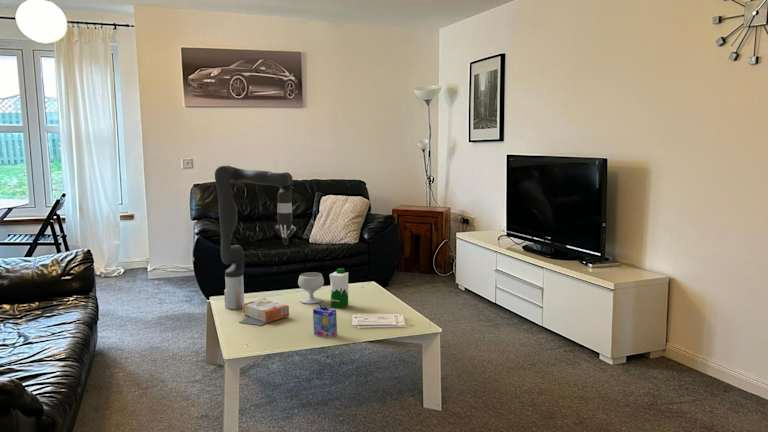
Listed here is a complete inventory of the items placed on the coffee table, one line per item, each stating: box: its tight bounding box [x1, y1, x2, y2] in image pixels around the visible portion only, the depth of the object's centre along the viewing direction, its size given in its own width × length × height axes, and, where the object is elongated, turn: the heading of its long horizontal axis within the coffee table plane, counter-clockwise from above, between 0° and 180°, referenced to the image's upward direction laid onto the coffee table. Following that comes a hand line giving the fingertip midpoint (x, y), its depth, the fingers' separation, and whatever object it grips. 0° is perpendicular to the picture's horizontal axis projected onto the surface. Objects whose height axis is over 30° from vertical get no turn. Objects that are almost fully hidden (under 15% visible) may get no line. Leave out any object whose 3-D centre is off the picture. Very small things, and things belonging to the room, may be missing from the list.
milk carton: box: [328, 267, 349, 310], centre depth 304 cm, size 9×9×20 cm
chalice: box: [297, 271, 325, 305], centre depth 314 cm, size 14×14×15 cm
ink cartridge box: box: [312, 304, 338, 339], centre depth 260 cm, size 10×6×14 cm, turn 58°
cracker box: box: [242, 297, 290, 323], centre depth 289 cm, size 14×6×21 cm
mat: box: [238, 316, 270, 327], centre depth 285 cm, size 13×18×1 cm
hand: (285, 244), depth 298 cm, fingers closed
